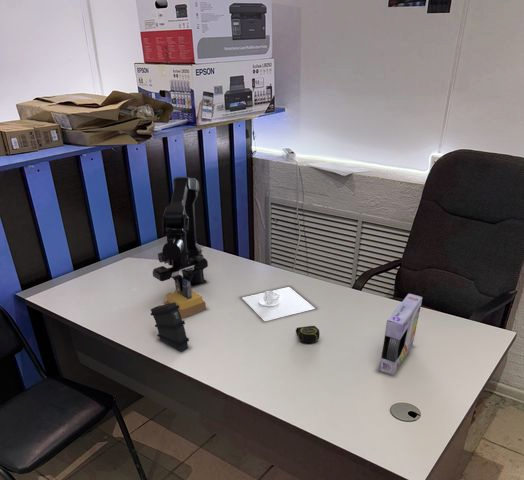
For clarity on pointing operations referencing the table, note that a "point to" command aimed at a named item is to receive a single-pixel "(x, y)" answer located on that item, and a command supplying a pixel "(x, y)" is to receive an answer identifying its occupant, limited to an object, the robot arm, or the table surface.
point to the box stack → (187, 303)
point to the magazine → (170, 326)
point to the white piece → (277, 303)
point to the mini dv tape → (185, 288)
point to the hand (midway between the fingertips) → (183, 290)
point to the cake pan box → (400, 333)
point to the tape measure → (308, 334)
